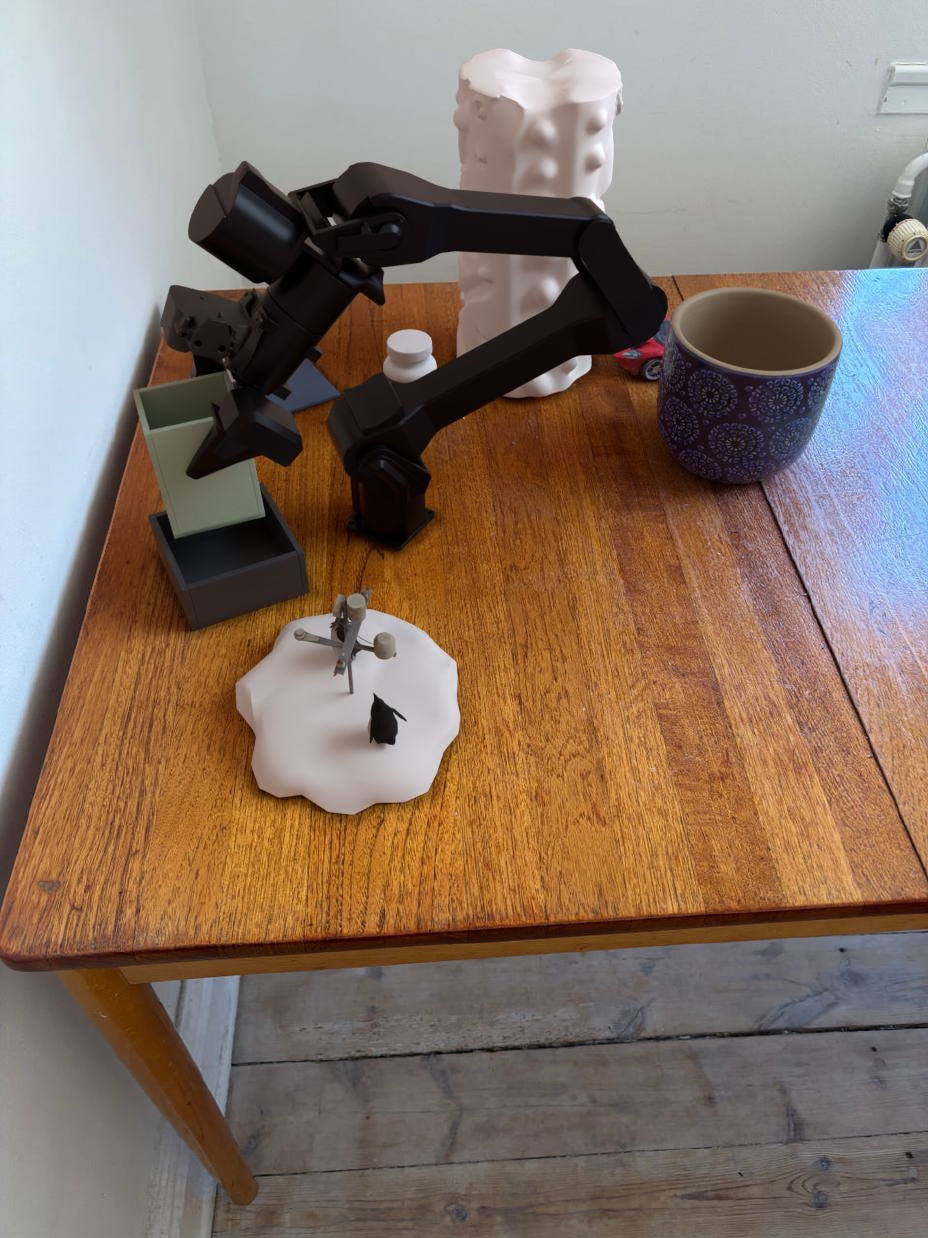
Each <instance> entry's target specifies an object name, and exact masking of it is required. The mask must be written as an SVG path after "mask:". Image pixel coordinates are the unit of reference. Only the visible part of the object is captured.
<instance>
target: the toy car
mask: <svg viewBox="0 0 928 1238" xmlns="http://www.w3.org/2000/svg"><path fill="white" fill-rule="evenodd" d="M670 319H671V317H665V319H664V321H663V323H662V324H661V330H660V331H659V332H658V333H657V334H656V335H655V336H654V337H652V338H651V339H649V340H648V341H647V342H644V343H642V344H640V345H637V346H634V347H632V348H629V349H626V350H624V351H621V352H618V353H616V354H612V356H613V357H614V359H615V360H616V362H617V364H618V366H619V368H621V369H622V370H626V371H629V372H630V374H631V375H634V376H638V375H641V376H642V377H643V378H644V379H645V380H646V381H653V380H654V381H657V380H659V377H660V371H661V364H662V357H663V352H664V347H665V342H666V336H667V331H668V327H669V323H670Z"/></svg>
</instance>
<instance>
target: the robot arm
mask: <svg viewBox="0 0 928 1238" xmlns="http://www.w3.org/2000/svg"><path fill="white" fill-rule="evenodd" d="M328 218H330V219H331V218H332V219H333V222H334V224H332V223H331V222H330V219H328ZM187 226H188V228H187V237H188V239H189V240H190V241H191V242H192V243H193V244H195V245H196V246H198V247H199V248H201V249H202V250H204V251H205V252H206V253H208V254H210V255H211V256H212V257H214V258H216V259H217V260H218V261H220V262H221V263H223V264H224V265H226V266H227V267H228V268H230V269H232V270H233V271H235V272H236V273H238V274H239V275H241V276H242V277H244V278H246V279H247V280H248V281H250V282H251V283H252V284H256V285H259V284H263V283H265V284H266V285H267V286H266V288H265V289H264V291H263V292H261V291H259V290H258V289H256V288H255V287H253V288H252V289H251V290H246V291H245V293H244V294H243V295H242V296H241V297H240V298H239V300H238V301H236V300H233V299H229V298H226V297H224V296H222V295H220V294H218V293H217V294H216V293H212V292H208V291H204V290H200V289H197V288H192V287H189V286H183V285H179V284H172V285H170V286H169V287H168V292H167V296H166V299H165V303H164V306H163V310H162V314H161V317H160V322H159V325H160V327H161V328H162V330H163V334H164V341H165V344H166V346H168V347H169V348H170V349H172V350H174V351H176V352H180V353H183V354H187V353H190V355H191V359H192V367H191V371H190V374H189V377H188V379H189V378H194V377H199V376H204V375H208V374H213V373H218V372H223V371H227V373H228V375H229V378H230V380H231V382H232V383H233V385H234V387H235V389H232V390H230V391H229V392H228V394H227V395H226V396H225V397H224V399H223V400H222V403H221V406H220V407H219V406H218V405H216V404H214V403H212V402H211V403H210V407H211V412H212V417H213V426H212V428H211V430H210V431H209V433H208V434H207V436H206V438H205V439H204V441H203V442H202V444H201V446H200V447H199V449H198V450H197V452H196V454H195V455H194V457H193V458H192V460H191V462H190V464H189V466H188V468H187V470H186V475H187V476H188V477H190V478H192V479H195V480H198V479H200V478H203V477H205V476H207V475H210V474H212V473H215V472H217V471H220V470H222V469H225V468H227V467H229V466H232V465H235V464H237V463H240V462H242V461H245V460H249V459H252V458H254V459H255V458H259V457H262V456H263V457H265V458H267V459H269V460H270V461H272V462H274V463H276V464H278V465H279V466H281V467H284V468H289V467H290V466H291V465H292V464H293V462H294V461H295V460H296V459H297V458H298V457H299V455H301V453H302V452H303V451H304V444H303V437H302V434H301V432H300V429H299V427H298V425H297V422H296V420H295V417H294V416H293V414H292V413H291V412H290V411H288V410H286V409H285V408H283V407H281V406H279V405H278V404H276V403H274V402H273V401H271V400H269V399H268V398H267V396H270V395H271V394H274V395H275V396H277V397H279V398H280V399H282V400H284V401H285V400H286V398H287V397H288V396H289V395H290V394H291V392H292V391H291V389H290V386H289V384H288V382H287V381H288V380H289V378H290V377H291V376H292V375H293V374H294V372H295V371H296V370H297V369H298V368H299V366H300V365H301V364H302V363H303V362H304V360H305V359H306V358H307V359H308V360H309V361H310V362H311V363H314V364H317V363H318V361H319V360H320V359H321V358H322V356H323V355H324V353H323V351H322V348H321V347H320V345H319V344H320V343H321V341H322V340H323V339H324V338H325V336H326V335H327V334H328V332H330V330H331V329H332V327H333V326H334V325H335V324H336V323H337V321H339V319H340V318H341V317H342V315H343V314H344V313H345V312H346V311H347V309H349V307H350V305H352V304H353V302H354V301H355V300H356V298H357V297H358V296H359V295H360V294H362V295H363V296H365V297H366V298H367V299H368V300H370V301H371V302H373V303H374V304H375V305H376V306H378V307H383V306H384V305H385V304H386V302H387V301H386V296H385V289H384V276H385V270H384V269H383V268H392V267H400V266H401V267H402V266H409V265H416V264H422V263H424V262H426V261H428V260H430V259H432V258H434V257H436V256H438V255H440V254H446V253H453V252H458V253H459V252H475V253H493V254H511V255H528V256H546V257H564V258H571V260H572V262H573V264H574V266H575V267H576V269H577V271H578V272H579V273H577V274H576V275H575V276H573V277H572V278H571V279H570V280H569V281H568V283H567V284H566V286H565V287H564V289H563V290H562V292H561V293H560V295H559V296H558V298H557V299H556V301H555V302H554V304H553V305H552V306H550V307H549V308H547V309H546V310H544V311H542V312H540V313H538V314H537V315H535V316H533V317H531V318H529V319H527V320H526V321H524V322H522V323H520V324H518V325H516V326H514V327H513V328H511V329H509V330H507V331H505V332H503V333H502V334H500V335H498V336H496V337H494V338H492V339H491V340H489V341H487V342H485V343H483V344H481V345H479V346H478V347H476V348H474V349H472V350H470V351H468V352H467V353H465V354H463V355H461V356H459V357H457V356H456V358H454V359H452V360H450V361H448V362H446V363H444V364H442V365H440V366H438V367H437V369H435V370H433V371H432V372H430V373H428V374H426V375H424V376H422V377H420V378H419V379H417V380H415V381H412V382H408V383H390V382H389V380H388V378H387V377H386V375H385V373H384V372H383V371H380V372H378V373H374V374H372V375H370V377H369V378H367V379H366V380H365V381H363V382H361V383H360V384H357V385H355V386H353V387H348V388H347V387H346V388H343V389H342V393H343V396H341V397H339V398H338V399H336V401H335V402H333V404H332V405H331V406H330V407H329V412H328V415H327V418H326V423H325V424H326V426H325V427H326V428H325V429H326V431H327V434H328V436H329V438H330V441H331V443H332V446H333V448H334V450H335V452H336V455H337V457H338V458H339V461H340V463H341V465H342V468H343V469H344V472H345V474H346V475H347V476H348V477H349V482H350V492H351V493H350V495H351V504H352V505H351V506H352V512H353V513H355V514H353V515H352V516H351V517H350V518H349V519H348V520H346V522H345V526H346V529H347V530H349V531H352V532H354V533H356V534H358V535H360V536H362V537H364V538H367V539H369V540H371V541H373V542H374V543H377V544H379V545H382V546H384V547H385V548H388V549H390V550H393V551H395V552H400V551H402V550H403V549H404V548H405V547H406V546H407V545H408V544H409V543H410V542H411V541H412V540H413V539H414V538H416V536H417V535H418V534H419V533H421V532H422V531H423V529H425V528H426V527H427V525H429V524H430V523H431V522H432V521H433V520H434V519H435V517H436V513H435V511H434V510H433V509H430V508H428V507H426V493H427V491H428V488H429V486H430V483H431V481H432V474H431V472H430V471H429V469H428V467H427V465H426V463H425V462H424V460H423V458H422V454H423V453H424V451H425V450H426V449H427V447H428V445H429V444H430V442H432V439H433V438H434V437H435V435H436V434H437V433H438V432H440V431H441V430H443V429H444V428H446V427H449V426H450V425H452V424H454V423H456V422H458V421H459V420H461V419H463V418H465V417H467V416H469V415H470V414H472V413H474V412H476V411H479V410H480V409H481V408H483V407H485V406H487V405H489V404H491V403H492V402H494V401H497V400H498V399H500V398H501V397H502V398H503V397H505V396H504V395H506V394H507V393H509V392H511V391H513V390H515V389H517V388H519V387H520V386H522V385H524V384H526V383H528V382H530V381H531V380H533V379H535V378H537V377H539V376H541V375H543V374H544V373H546V372H548V371H550V370H552V369H554V368H556V367H557V366H559V365H561V364H563V363H565V362H567V361H568V360H570V359H572V358H575V357H577V356H589V355H591V356H611V355H612V354H616V353H618V352H621V351H624V350H626V349H629V348H632V347H634V346H637V345H640V344H642V343H644V342H647V341H648V340H649V339H651V338H652V337H654V336H655V335H656V334H657V333H658V332H659V331H660V330H661V324H662V323H663V321H664V319H665V318H667V313H668V310H669V298H668V296H667V295H666V291H665V290H664V289H662V287H660V286H659V285H658V283H656V282H655V281H654V279H652V277H651V276H650V275H648V274H647V272H646V271H645V270H644V269H642V268H641V266H639V265H638V263H637V262H636V261H635V259H634V257H633V256H632V254H631V252H630V251H629V249H628V248H627V246H625V245H626V244H624V242H623V239H622V238H621V236H620V234H619V232H618V231H617V227H616V225H615V222H614V220H613V219H611V217H610V216H609V215H608V214H607V213H606V214H605V213H604V212H603V211H602V210H601V209H600V208H599V207H598V206H597V205H596V204H595V203H594V202H593V201H592V200H591V199H589V198H586V197H580V196H577V197H571V198H569V199H568V198H556V197H543V196H531V195H519V194H507V193H495V192H483V191H471V190H460V189H457V188H449V187H445V186H442V185H438V184H435V183H433V182H431V181H429V180H426V179H424V178H422V177H420V176H418V175H415V174H413V173H411V172H408V171H405V170H402V169H398V168H394V167H391V166H388V165H384V164H381V163H377V162H373V161H360V162H355V163H353V164H350V165H349V166H348V167H347V169H345V171H343V172H342V173H341V174H340V175H339V176H338V177H336V178H332V179H329V180H325V181H322V182H317V183H315V184H312V185H308V186H304V187H301V188H298V189H294V190H290V191H289V192H288V193H287V194H285V193H284V192H283V191H282V190H280V189H279V188H277V186H275V185H274V184H272V183H271V182H270V181H269V180H267V179H266V178H265V177H264V175H263V174H262V173H261V172H260V170H259V169H257V168H256V167H255V166H254V165H252V164H251V163H250V162H249V161H247V160H242V161H241V162H240V163H239V165H238V166H237V168H236V169H235V171H232V172H231V171H229V172H227V173H225V174H223V175H221V176H220V177H219V178H218V179H217V180H215V182H213V184H212V183H209V184H208V185H207V186H206V188H205V189H204V190H203V192H202V194H201V195H200V196H199V198H198V200H197V202H196V204H195V206H194V208H193V210H192V213H191V215H190V218H189V222H188V225H187ZM612 356H613V355H612ZM266 395H267V396H266Z"/></svg>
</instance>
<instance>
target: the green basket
mask: <svg viewBox="0 0 928 1238" xmlns="http://www.w3.org/2000/svg"><path fill="white" fill-rule="evenodd" d="M232 389H235V387H234V385H233V383H232V382H231V380H230V378H229V375H228V373H227V371H223V372H218V373H213V374H208V375H204V376H199V377H194V378H189V377H188V378H185V379H180V380H175V381H170V382H166V383H160V384H156V385H150V386H145V387H141V388H136V389H132V395H133V399H134V402H135V406H136V410H137V415H138V418H139V421H140V427H141V430H142V434H143V437H144V441H145V444H146V448H147V451H148V454H149V458H150V461H151V464H152V467H153V471H154V474H155V477H156V481H157V485H158V487H159V492H160V494H161V497H162V501H163V504H164V508H165V510H166V511H167V514H168V518H169V521H170V525H171V528H172V531H173V535H174V538H180V537H183V536H188V535H192V534H196V533H200V532H204V531H208V530H212V529H216V528H220V527H225V526H229V525H233V524H237V523H241V522H245V521H249V520H253V519H257V518H262V517H265V511H264V506H263V501H262V497H261V492H260V487H259V483H260V481H259V477H258V474H257V468H256V464H255V463H256V462H255V458H252V459H249V460H245V461H242V462H240V463H237V464H235V465H232V466H229V467H227V468H225V469H222V470H220V471H217V472H215V473H212V474H210V475H207V476H205V477H203V478H200V479H198V480H195V479H192V478H190V477H188V476H187V475H186V470H187V468H188V466H189V464H190V462H191V460H192V458H193V457H194V455H195V454H196V452H197V450H198V449H199V447H200V446H201V444H202V442H203V441H204V439H205V438H206V436H207V434H208V433H209V431H210V430H211V428H212V426H213V417H212V412H211V407H210V403H211V402H212V403H214V404H216V405H218V406H219V407H220V406H221V403H222V400H223V399H224V397H225V396H226V395H227V394H228V392H229V391H230V390H232Z"/></svg>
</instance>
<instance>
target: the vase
mask: <svg viewBox="0 0 928 1238" xmlns="http://www.w3.org/2000/svg"><path fill="white" fill-rule="evenodd" d="M621 73H622V72H621V71H620V70H619V68H618V66H617V64H616V63H615V62H614V60H611V59H610V58H608V57H606V56H603V55H601V54H598V53H596V52H593V51H589V50H584V49H579V48H565V49H563V50H561V51H560V52H558V53H557V54H556V55H555V56H554V57H552V58H550V59H548V60H532V59H529V58H526V57H525V56H522V55H521V54H519V53H516V52H514V51H512V50H510V49H507V48H502V47H501V48H500V47H499V48H498V47H497V48H493V49H488V50H485V51H482V52H480V53H477V54H474V55H473V56H471V57H470V60H468V61H466V62H463V63H462V64H461V65H460V66H459V67H458V89H457V91H456V93H455V102H456V104H457V105H458V108H456V110H455V111H454V112H453V115H452V119H453V124H454V127H455V128H456V129H457V132H458V134H457V136H458V137H457V142H458V143H457V144H458V155H459V162H460V163H461V166H460V172H461V173H460V180H459V183H458V184H459V186H458V187H459V190H471V191H483V192H495V193H507V194H519V195H531V196H543V197H556V198H568V199H569V198H571V197H577V196H580V197H586V198H589V199H591V200H592V201H593V202H594V203H595V204H596V205H597V206H598V207H599V208H600V209H601V210H602V211H603V212H604V213H605V214H606V215H607V212H606V208H605V203H604V201H603V200H602V199H601V197H602V196H603V195H604V194H605V193H606V191H607V190H608V189H609V188H610V186H611V184H612V182H613V173H614V156H615V142H614V141H615V140H614V130H613V125H614V121H615V118H616V117H617V116H619V115H621V114H622V113H623V112H624V111H625V106H624V101H623V88H624V84H623V82H622V74H621ZM457 265H458V266H457V267H458V273H457V274H458V275H457V276H458V278H457V279H458V280H457V281H458V289H459V290H461V292H460V296H459V301H460V303H461V305H462V306H463V307H461V310H459V313H458V324H457V329H456V358H457V357H459V356H461V355H463V354H465V353H467V352H468V351H470V350H472V349H474V348H476V347H478V346H479V345H481V344H483V343H485V342H487V341H489V340H491V339H492V338H494V337H496V336H498V335H500V334H502V333H503V332H505V331H507V330H509V329H511V328H513V327H514V326H516V325H518V324H520V323H522V322H524V321H526V320H527V319H529V318H531V317H533V316H535V315H537V314H538V313H540V312H542V311H544V310H546V309H547V308H549V307H550V306H552V305H553V304H554V302H555V301H556V299H557V298H558V296H559V295H560V293H561V292H562V290H563V289H564V287H565V286H566V284H567V283H568V281H569V280H570V279H571V278H572V277H573V276H575V275H576V274H577V273H579V272H578V271H577V269H576V267H575V266H574V264H573V262H572V260H571V258H564V257H546V256H528V255H511V254H493V253H475V252H458V254H457ZM592 362H593V361H592V355H589V356H577V357H575V358H572V359H570V360H568V361H567V362H565V363H563V364H561V365H559V366H557V367H556V368H554V369H552V370H550V371H548V372H546V373H544V374H543V375H541V376H539V377H537V378H535V379H533V380H531V381H530V382H528V383H526V384H524V385H522V386H520V387H519V388H517V389H515V390H513V391H511V392H509V393H507V394H506V395H504V396H503V397H506V398H514V399H521V398H526V397H533V398H543V397H547V396H550V395H553V394H556V393H560V392H564V391H565V390H567V389H569V387H570V386H572V384H573V383H574V382H575V381H576V380H578V379H579V378H581V377H582V376H584V375H586V374H587V373H588V372H589V371H591V368H592Z"/></svg>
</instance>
